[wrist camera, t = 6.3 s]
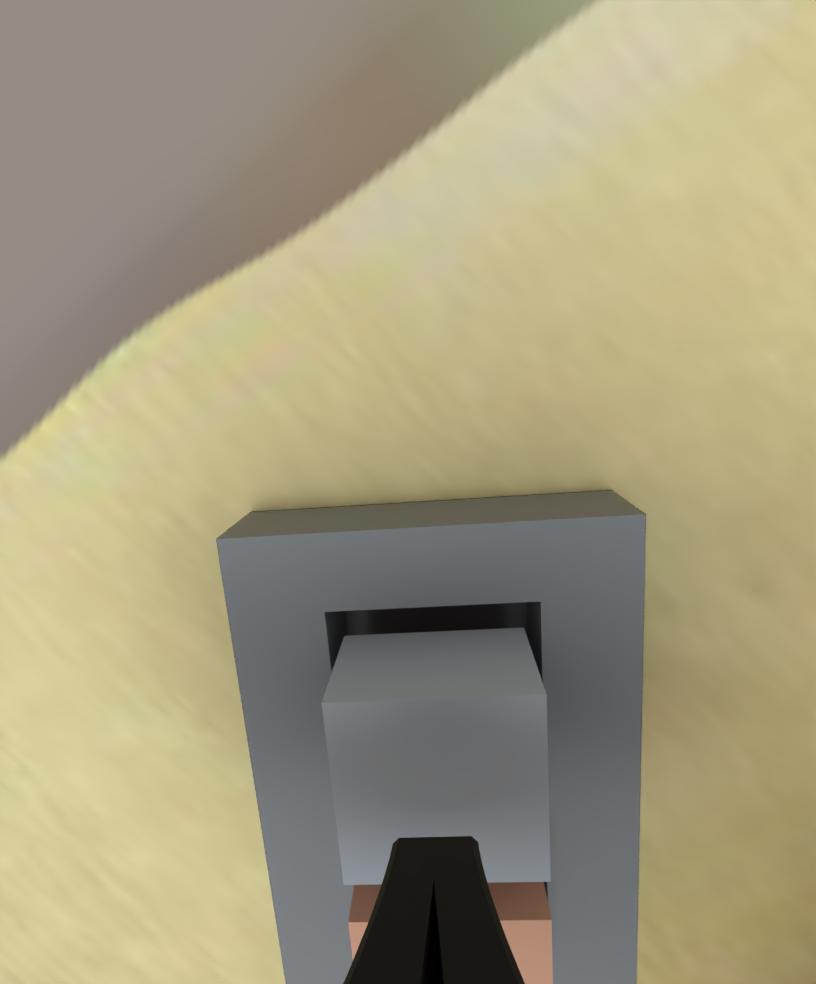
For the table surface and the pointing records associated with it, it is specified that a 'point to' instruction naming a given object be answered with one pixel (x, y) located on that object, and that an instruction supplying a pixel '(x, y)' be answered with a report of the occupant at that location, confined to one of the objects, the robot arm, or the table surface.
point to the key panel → (448, 607)
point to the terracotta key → (518, 914)
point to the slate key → (439, 749)
